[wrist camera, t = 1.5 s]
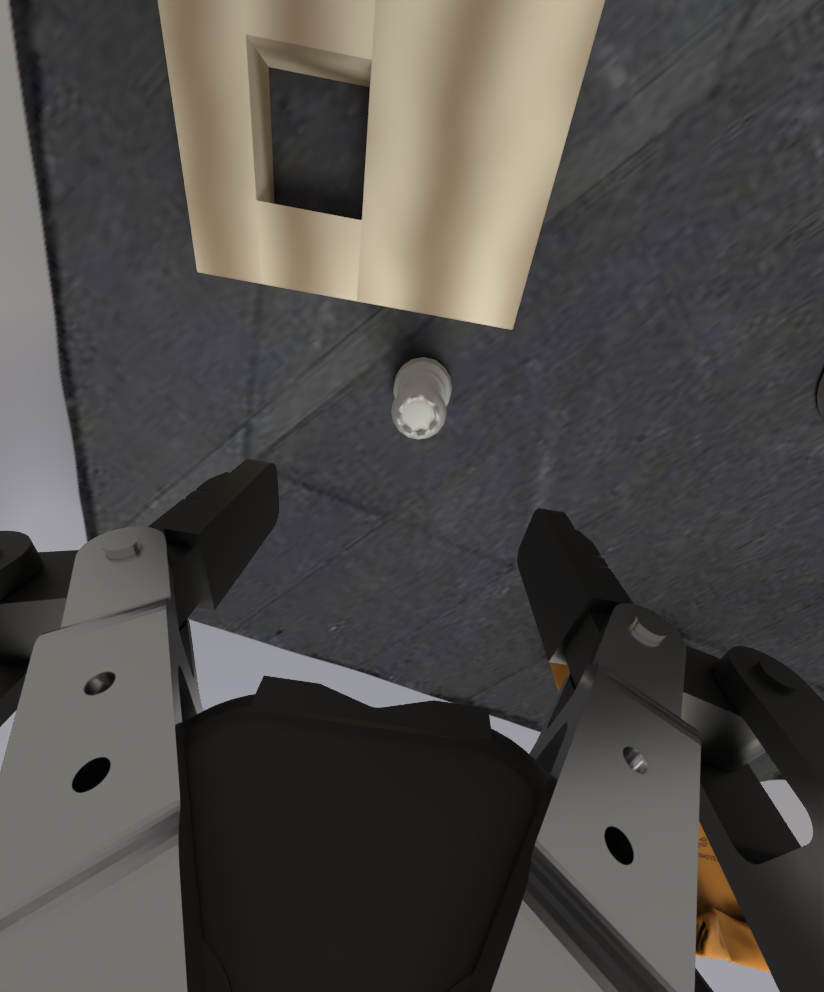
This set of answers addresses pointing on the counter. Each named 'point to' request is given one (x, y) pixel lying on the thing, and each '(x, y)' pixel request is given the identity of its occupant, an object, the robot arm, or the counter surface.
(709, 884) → the coffee package
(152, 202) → the counter surface
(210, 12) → the socket block
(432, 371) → the rook chess piece
